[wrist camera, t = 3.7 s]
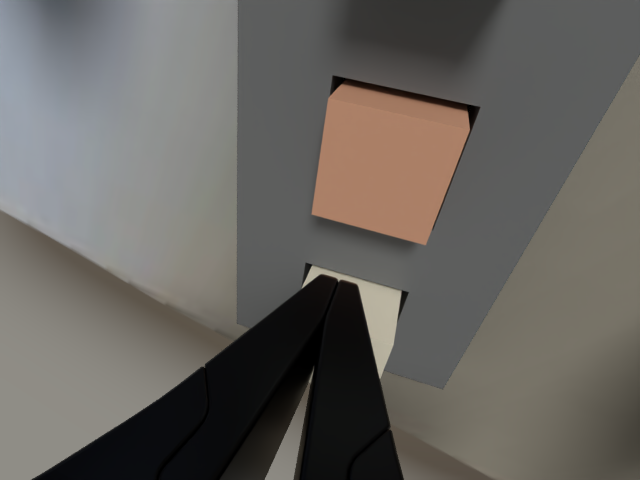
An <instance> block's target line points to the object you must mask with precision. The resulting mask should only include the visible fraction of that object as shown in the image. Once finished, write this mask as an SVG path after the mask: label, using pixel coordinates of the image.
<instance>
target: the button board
mask: <svg viewBox="0 0 640 480" xmlns="http://www.w3.org/2000/svg"><path fill="white" fill-rule="evenodd" d="M639 55H640V0H238V132H237V324H239V325H243V326H246V327H249V328H252V327H253V326H254V325H256V324H257V323H258V322H259V321H261V320H262V319H263V318H265V317H266V316H267V315H268V314H270V313H271V312H272V311H274V310H275V309H276V308H277V307H279V306H280V305H281V304H282V303H284V302H285V301H286V300H288V299H289V298H290V297H291V296H293V295H294V294H295V293H297V292H298V291H299V290H300V289H301V288H302V286H303V284H304V282H305V280H306V278H307V275H308V273H309V271H310V269H311V267H312V265H316V266H319V267H323V268H326V269H330V270H333V271H337V272H340V273H344V274H347V275H351V276H354V277H358V278H361V279H365V280H368V281H372V282H375V283H379V284H382V285H386V286H389V287H393V288H396V289H399V290H403V293H402V295H401V298H400V305H399V312H398V318H397V325H396V332H395V338H394V345H393V348H392V350H391V353H390V355H389V358H388V360H387V363H386V365H385V368H384V371H387V372H390V373H393V374H396V375H400V376H403V377H406V378H409V379H412V380H415V381H418V382H422V383H425V384H428V385H431V386H434V387H437V388H440V389H443V388H444V386H445V385H446V383H447V381H448V380H449V378H450V376H451V375H452V373H453V371H454V369H455V368H456V366H457V364H458V363H459V361H460V359H461V358H462V356H463V354H464V352H465V351H466V349H467V347H468V346H469V344H470V342H471V341H472V339H473V337H474V335H475V334H476V332H477V330H478V329H479V327H480V325H481V324H482V322H483V320H484V318H485V317H486V315H487V313H488V312H489V310H490V308H491V307H492V305H493V303H494V301H495V300H496V298H497V296H498V295H499V293H500V291H501V290H502V288H503V286H504V284H505V283H506V281H507V279H508V278H509V276H510V274H511V273H512V271H513V269H514V267H515V266H516V264H517V262H518V261H519V259H520V257H521V256H522V254H523V252H524V250H525V249H526V247H527V245H528V244H529V242H530V240H531V239H532V237H533V235H534V233H535V232H536V230H537V228H538V227H539V225H540V223H541V222H542V220H543V218H544V217H545V215H546V213H547V211H548V210H549V208H550V206H551V205H552V203H553V201H554V200H555V198H556V196H557V194H558V193H559V191H560V189H561V188H562V186H563V184H564V183H565V181H566V179H567V177H568V176H569V174H570V172H571V171H572V169H573V167H574V166H575V164H576V162H577V160H578V159H579V157H580V155H581V154H582V152H583V150H584V149H585V147H586V145H587V143H588V142H589V140H590V138H591V137H592V135H593V133H594V132H595V130H596V128H597V126H598V125H599V123H600V121H601V120H602V118H603V116H604V115H605V113H606V111H607V109H608V108H609V106H610V104H611V103H612V101H613V99H614V98H615V96H616V94H617V92H618V91H619V89H620V87H621V86H622V84H623V82H624V81H625V79H626V77H627V75H628V74H629V72H630V70H631V69H632V67H633V65H634V64H635V62H636V60H637V58H638V57H639ZM343 77H344V78H348V79H353V80H358V81H362V82H367V83H372V84H376V85H381V86H386V87H390V88H395V89H400V90H404V91H409V92H414V93H418V94H423V95H428V96H432V97H437V98H441V99H446V100H451V101H455V102H460V103H465V104H469V105H472V107H471V110H470V112H469V115H468V118H469V126H470V131H469V134H468V136H467V139H466V142H465V144H464V147H463V149H462V152H461V155H460V157H459V160H458V162H457V165H456V168H455V170H454V173H453V176H452V178H451V181H450V183H449V186H448V189H447V191H446V194H445V196H444V199H443V202H442V204H441V207H440V209H439V212H438V215H437V217H436V220H435V222H434V225H433V228H432V230H431V233H430V236H429V238H428V241H427V243H426V245H423V244H419V243H416V242H412V241H408V240H404V239H401V238H397V237H393V236H390V235H386V234H382V233H378V232H375V231H371V230H367V229H364V228H360V227H356V226H352V225H349V224H345V223H341V222H338V221H334V220H330V219H326V218H323V217H319V216H315V215H312V207H313V200H314V193H315V186H316V179H317V173H318V166H319V159H320V152H321V145H322V138H323V131H324V124H325V117H326V110H327V103H328V98H329V97H330V96H331V95H332V94H333V92H334V91H335V90H336V89H337V88H338V87H339V86H340V85H341V84H342V80H343Z"/></svg>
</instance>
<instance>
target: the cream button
mask: <svg viewBox="0 0 640 480" xmlns="http://www.w3.org/2000/svg"><path fill="white" fill-rule="evenodd" d="M320 274H325V275H328V276H332V277H335V278H337V279H338V282H339V281H340V280H346V281H349V282H353V283H356V284H357V285H358V287H359V291H360V295H361V299H362V304H363V308H364V313H365V317H366V321H367V326H368V330H369V334H370V339H371V343H372V347H373V352H374V356H375V360H376V365H377V369H378V374H379V378H381V375H382V373H383V370H384V368H385V365H386V363H387V360H388V358H389V355H390V353H391V350H392V348H393V345H394V338H395V332H396V325H397V318H398V312H399V305H400V298H401V292H402V290H399V289H396V288H393V287H389V286H386V285H382V284H379V283H375V282H372V281H368V280H365V279H361V278H358V277H354V276H351V275H347V274H344V273H340V272H337V271H333V270H330V269H326V268H323V267H319V266H316V265H312V267H311V269H310V271H309V273H308V275H307V278H306V280H305V282H304V284H303V286H302V288H303V287H304V286H305V285H307V284H308V283H309V282H311V281H312V280H313V279H314V278H316V277H317V276H318V275H320ZM302 288H301V289H302ZM312 375H313V372H312ZM312 375H311V378H310V380H309V383H311V380H312Z"/></svg>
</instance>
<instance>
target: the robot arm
mask: <svg viewBox="0 0 640 480" xmlns="http://www.w3.org/2000/svg"><path fill="white" fill-rule="evenodd" d="M312 372H313V375H312ZM311 375H312V380H311V385H310V390H309V396H308V401H307V407H306V412H305V418H304V424H303V429H302V435H301V441H300V446H299V452H298V457H297V463H296V469H295V475H294V480H404V478H403V474H402V470H401V467H400V463H399V459H398V455H397V451H396V447H395V443H394V438H393V434H392V431H391V430H389V429H390V421H389V417H388V413H387V408H386V404H385V400H384V395H383V391H382V387H381V382H380V378H379V374H378V369H377V365H376V360H375V356H374V352H373V347H372V343H371V339H370V334H369V330H368V326H367V321H366V317H365V313H364V308H363V304H362V299H361V295H360V291H359V287H358V285H357V284H356V283H353V282H349V281H346V280H340V281H339V282H338V279H337V278H335V277H332V276H328V275H325V274H320V275H318V276H317V277H316V278H314V279H313V280H312V281H311V282H309V283H308V284H307V285H305V286H304V287H303V288H302V289H300V290H299V291H298V292H297V293H295V294H294V295H293V296H291V297H290V298H289V299H288V300H286V301H285V302H284V303H282V304H281V305H280V306H279V307H277V308H276V309H275V310H274V311H272V312H271V313H270V314H268V315H267V316H266V317H265V318H263V319H262V320H261V321H259V322H258V323H257V324H256V325H254V326H253V327H252V328H251V329H249V330H248V331H247V332H245V333H244V334H243V335H242V336H240V337H239V338H238V339H237V340H235V341H234V342H233V343H231V344H230V345H229V346H228V347H226V348H225V349H224V350H223V351H221V352H220V353H219V354H217V355H216V356H215V357H214V358H212V359H211V360H210V361H208V362H207V363H206V364H205V368H204V367H200V369H198V370H197V371H195V372H194V373H193V374H192V375H190V376H189V377H188V378H186V379H185V380H184V381H183V382H181V383H180V384H179V385H177V386H176V387H175V388H173V389H172V390H170V391H169V392H168V393H166V394H165V395H164V396H162V397H161V398H160V399H158V400H156V401H155V402H153V403H152V404H150V405H149V406H147V407H146V408H145V409H143V410H141V411H140V412H138V413H137V414H135V415H134V416H132V417H131V418H129V419H128V420H126V421H125V422H123V423H121V424H120V425H118V426H117V427H115V428H114V429H112V430H110V431H109V432H107V433H106V434H104V435H102V436H101V437H99V438H98V439H96V440H95V441H93V442H91V443H90V444H88V445H87V446H85V447H83V448H82V449H80V450H79V451H77V452H75V453H74V454H72V455H71V456H69V457H68V458H66V459H64V460H63V461H61V462H60V463H58V464H57V465H55V466H53V467H52V468H50V469H49V470H47V471H45V472H44V473H42V474H40V475H39V476H37V477H35V478H33V479H32V480H265V477H266V475H267V473H268V471H269V468H270V466H271V464H272V462H273V460H274V458H275V455H276V453H277V451H278V449H279V446H280V444H281V442H282V440H283V438H284V435H285V433H286V431H287V429H288V427H289V425H290V422H291V420H292V418H293V416H294V414H295V411H296V409H297V407H298V405H299V403H300V400H301V398H302V396H303V394H304V392H305V389H306V387H307V385H308V383H309V380H310V378H311Z"/></svg>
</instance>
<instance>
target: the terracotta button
mask: <svg viewBox="0 0 640 480" xmlns="http://www.w3.org/2000/svg"><path fill="white" fill-rule="evenodd" d="M469 131H470V126H469V118H468V110H467V104H465V103H460V102H455V101H451V100H446V99H441V98H437V97H432V96H428V95H423V94H418V93H414V92H409V91H404V90H400V89H395V88H390V87H386V86H381V85H376V84H372V83H367V82H362V81H358V80H353V79H348V78H347V79H346V80H345V81H344V82H343V83H342V84H341V85H340V86H339V87H338V88H337V89H336V90H335V91H334V92H333V94H332V95H331V96H330V97H329V98H328V103H327V110H326V117H325V124H324V131H323V138H322V145H321V152H320V159H319V166H318V173H317V179H316V186H315V193H314V200H313V207H312V215H315V216H319V217H323V218H326V219H330V220H334V221H338V222H341V223H345V224H349V225H352V226H356V227H360V228H364V229H367V230H371V231H375V232H378V233H382V234H386V235H390V236H393V237H397V238H401V239H404V240H408V241H412V242H416V243H419V244H423V245H426V243H427V241H428V238H429V236H430V233H431V230H432V228H433V225H434V222H435V220H436V217H437V215H438V212H439V209H440V207H441V204H442V202H443V199H444V196H445V194H446V191H447V189H448V186H449V183H450V181H451V178H452V176H453V173H454V170H455V168H456V165H457V162H458V160H459V157H460V155H461V152H462V149H463V147H464V144H465V142H466V139H467V136H468V134H469Z"/></svg>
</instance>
